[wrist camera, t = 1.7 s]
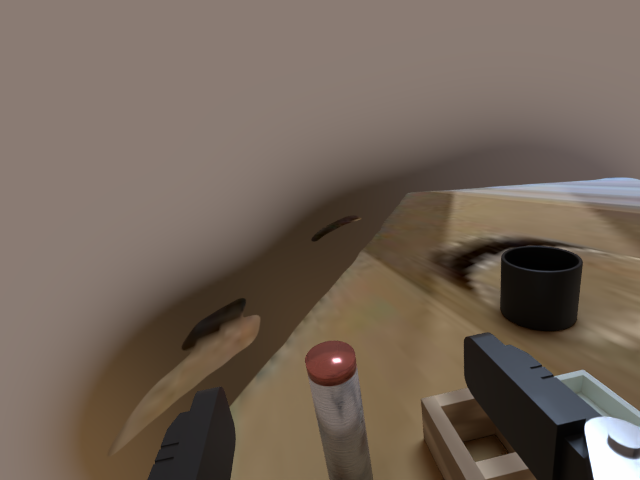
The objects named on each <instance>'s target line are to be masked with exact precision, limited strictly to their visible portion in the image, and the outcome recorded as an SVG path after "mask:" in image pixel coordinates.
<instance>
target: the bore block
mask: <svg viewBox="0 0 640 480" xmlns="http://www.w3.org/2000/svg"><path fill="white" fill-rule="evenodd" d="M421 406H422V420H423V433H424V439H425V441H426V444H427V446H428V448H429V450H430V452H431V454H432V456H433V458H434V460H435V462H436V464H437V466H438V468H439V470H440V472H441V474H442V476H443V478H444V480H537V479H536V478H535V476H534V475H533V474H532V473H531V471H530V470H529V469H528V467H527V466H526V465H525V463H524V462H523V461H522V460H521V458H520V457H519V456H518V454H517V453H516V452H515V450H514V449H513V448H512V447H511V445H510V444H509V443H508V441H507V440H506V439H505V437H504V436H503V435H502V433H501V432H500V431H499V430H498V428H497V427H496V426H495V424H494V423H493V422H492V420H491V419H490V418H489V417H488V415H487V414H486V413H485V411H484V410H483V409H482V407H481V406H480V405H479V404H478V402H477V401H476V400H475V398H474V397H473V396H472V394H471V393H470V391H469V389H468V388H465V389H461V390H457V391H452V392H448V393H444V394H439V395H435V396H431V397H426V398H422V399H421ZM493 434H496V435H497V437H498V438H499V440H500V441H501V442H502V444H503V445H504V446H505V448H506V449H507V450H508V452H509V453H510V454H506V455H502V456H498V457H494V458H490V459H486V460H482V461H478V462H475V461H474V460H473V458H472V456H471V455H470V453H469V452H468V450H467V448H466V447H465V445H464V443H463V442H465V441H469V440H473V439H477V438H481V437H485V436H489V435H493Z"/></svg>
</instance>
